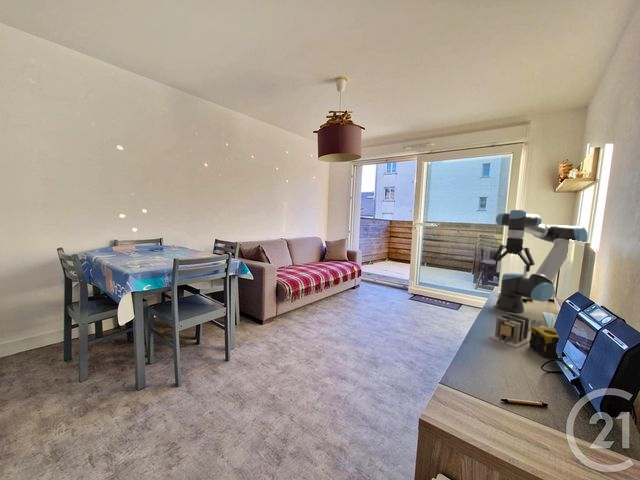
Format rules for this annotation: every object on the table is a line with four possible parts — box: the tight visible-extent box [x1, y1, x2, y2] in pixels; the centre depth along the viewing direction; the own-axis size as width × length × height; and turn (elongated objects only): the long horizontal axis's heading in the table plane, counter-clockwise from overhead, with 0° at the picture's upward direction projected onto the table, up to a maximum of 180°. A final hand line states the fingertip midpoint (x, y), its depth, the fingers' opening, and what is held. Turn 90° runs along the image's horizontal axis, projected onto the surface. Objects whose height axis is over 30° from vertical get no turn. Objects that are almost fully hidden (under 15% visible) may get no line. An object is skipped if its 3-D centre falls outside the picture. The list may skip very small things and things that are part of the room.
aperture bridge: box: [494, 316, 521, 344], centre depth 132 cm, size 2×9×10 cm, turn 33°
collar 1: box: [500, 313, 524, 342], centre depth 134 cm, size 1×10×11 cm, turn 33°
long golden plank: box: [500, 318, 532, 337], centre depth 136 cm, size 22×4×4 cm, turn 123°
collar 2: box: [505, 311, 531, 339], centre depth 137 cm, size 1×10×11 cm, turn 33°
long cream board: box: [489, 319, 548, 349], centre depth 141 cm, size 40×12×3 cm, turn 123°
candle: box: [528, 326, 559, 359], centre depth 121 cm, size 10×10×10 cm
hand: (511, 274), depth 156 cm, fingers open, 13 cm apart
